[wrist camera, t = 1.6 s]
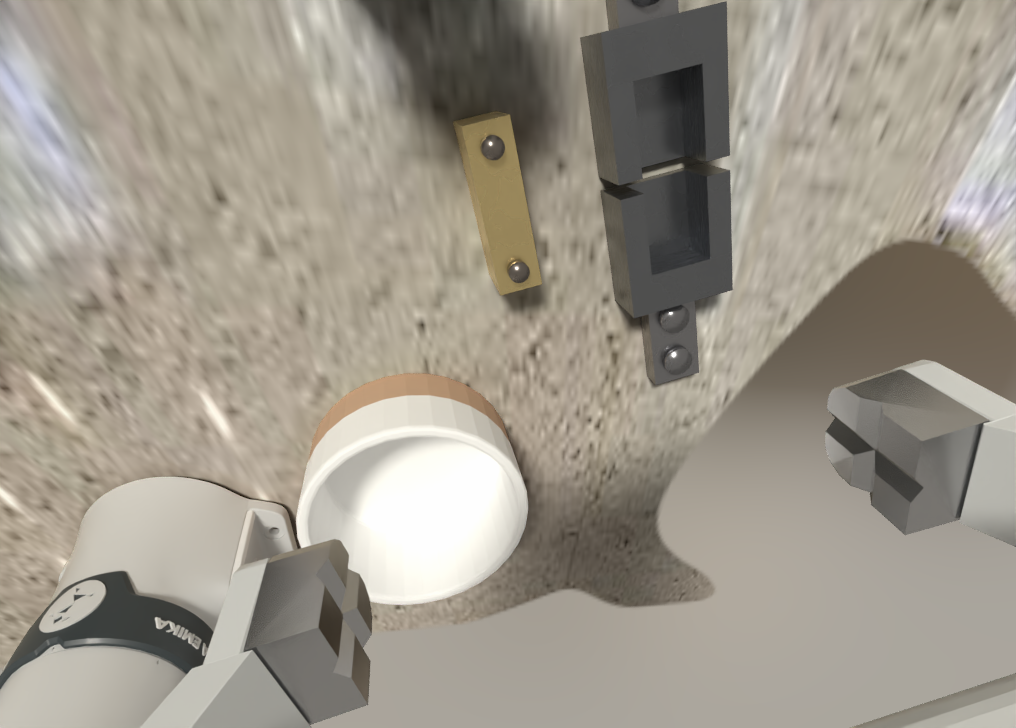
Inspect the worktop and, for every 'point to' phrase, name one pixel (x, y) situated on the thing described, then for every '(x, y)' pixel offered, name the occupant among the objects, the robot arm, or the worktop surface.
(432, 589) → the bowl
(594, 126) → the chain end near
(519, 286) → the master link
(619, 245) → the chain end far
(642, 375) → the worktop surface
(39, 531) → the worktop surface
